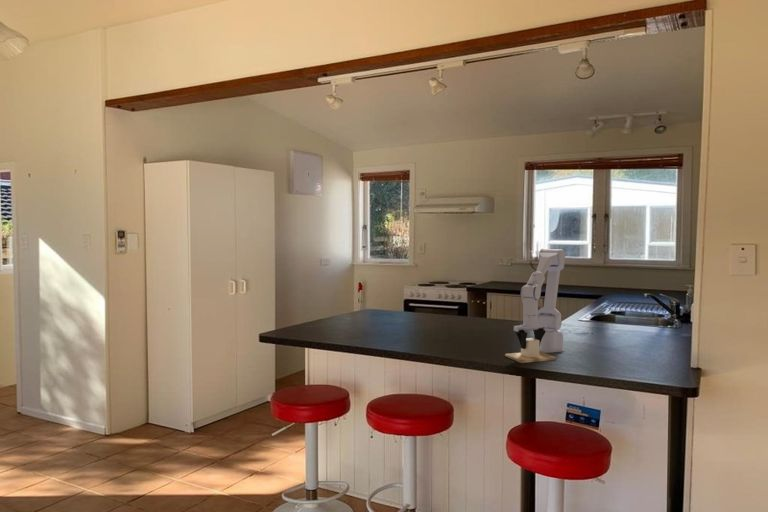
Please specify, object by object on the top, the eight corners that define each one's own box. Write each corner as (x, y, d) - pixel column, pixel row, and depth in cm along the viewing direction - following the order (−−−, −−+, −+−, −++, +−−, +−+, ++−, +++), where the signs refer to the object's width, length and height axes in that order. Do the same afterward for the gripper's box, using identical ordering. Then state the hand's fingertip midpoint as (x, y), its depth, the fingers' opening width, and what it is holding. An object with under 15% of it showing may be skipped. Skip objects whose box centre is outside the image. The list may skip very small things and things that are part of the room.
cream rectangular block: (531, 353, 225) (531, 337, 225) (539, 356, 220) (539, 340, 220) (520, 354, 223) (520, 338, 223) (528, 357, 218) (528, 341, 218)
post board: (539, 353, 230) (539, 339, 229) (555, 359, 218) (556, 345, 218) (505, 356, 225) (505, 341, 225) (520, 362, 214) (520, 347, 213)
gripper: (539, 312, 227) (539, 344, 228) (509, 314, 222) (509, 347, 223) (550, 314, 221) (549, 347, 221) (519, 316, 215) (519, 350, 216)
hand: (530, 347), depth 222 cm, fingers open, 6 cm apart
